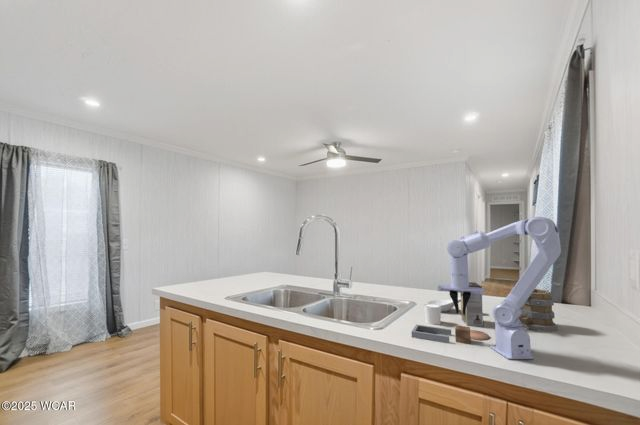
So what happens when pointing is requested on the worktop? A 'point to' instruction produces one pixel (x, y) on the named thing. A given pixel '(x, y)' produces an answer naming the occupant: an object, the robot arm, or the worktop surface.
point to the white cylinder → (432, 313)
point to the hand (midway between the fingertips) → (460, 313)
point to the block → (462, 334)
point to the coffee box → (473, 308)
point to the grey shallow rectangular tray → (431, 333)
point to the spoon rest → (444, 304)
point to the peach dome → (478, 335)
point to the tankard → (538, 312)
